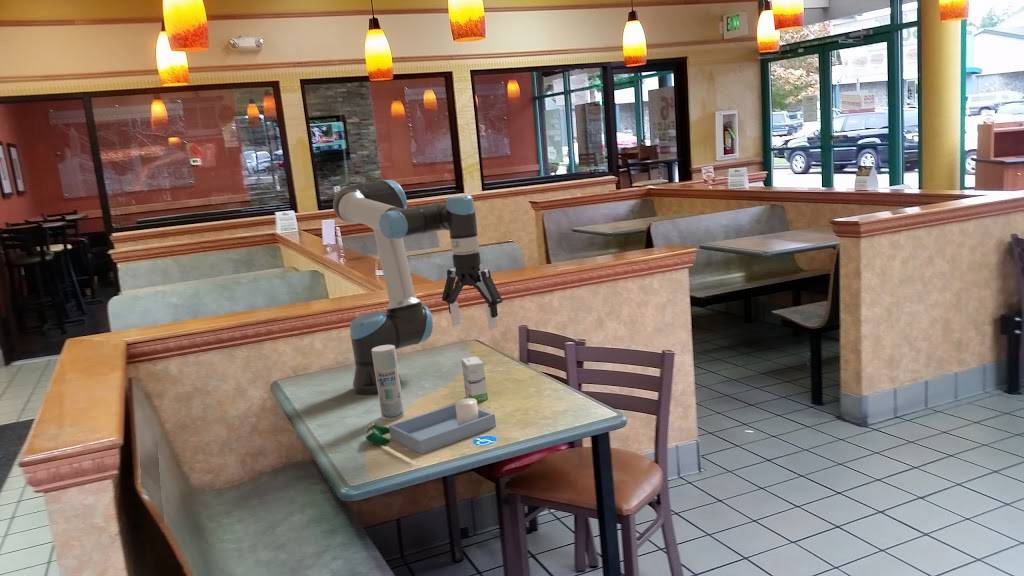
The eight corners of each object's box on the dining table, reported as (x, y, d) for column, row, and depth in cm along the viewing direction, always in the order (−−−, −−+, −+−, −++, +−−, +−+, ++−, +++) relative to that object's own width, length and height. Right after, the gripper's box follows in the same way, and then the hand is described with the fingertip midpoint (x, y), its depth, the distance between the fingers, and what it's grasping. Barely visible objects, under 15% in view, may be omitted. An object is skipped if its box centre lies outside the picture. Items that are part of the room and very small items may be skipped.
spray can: (404, 411, 217) (394, 343, 213) (405, 418, 210) (395, 348, 207) (381, 414, 216) (371, 346, 212) (381, 422, 209) (371, 352, 206)
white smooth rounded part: (454, 428, 196) (450, 402, 195) (472, 422, 199) (469, 396, 198) (466, 433, 192) (462, 407, 191) (484, 427, 195) (480, 401, 194)
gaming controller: (384, 440, 201) (366, 428, 200) (393, 429, 200) (374, 416, 199) (381, 454, 192) (362, 441, 191) (390, 442, 191) (371, 429, 190)
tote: (391, 440, 195) (388, 425, 194) (462, 415, 207) (461, 401, 207) (421, 456, 182) (419, 441, 181) (496, 429, 195) (494, 414, 194)
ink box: (489, 402, 216) (484, 362, 214) (472, 405, 215) (467, 365, 213) (481, 393, 224) (476, 355, 222) (465, 396, 223) (460, 358, 221)
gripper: (423, 254, 214) (433, 327, 218) (492, 255, 198) (500, 333, 202) (441, 249, 219) (450, 320, 223) (509, 250, 204) (517, 326, 208)
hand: (474, 327), depth 213 cm, fingers open, 13 cm apart
